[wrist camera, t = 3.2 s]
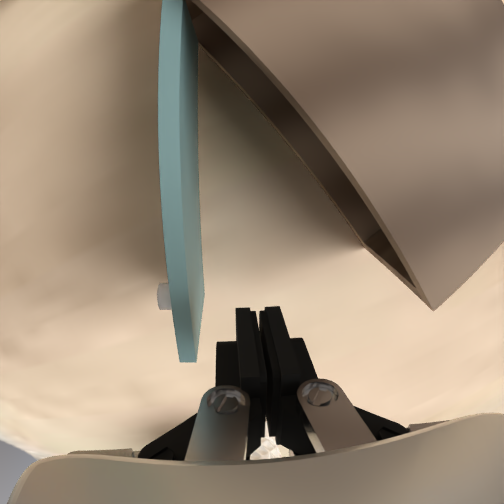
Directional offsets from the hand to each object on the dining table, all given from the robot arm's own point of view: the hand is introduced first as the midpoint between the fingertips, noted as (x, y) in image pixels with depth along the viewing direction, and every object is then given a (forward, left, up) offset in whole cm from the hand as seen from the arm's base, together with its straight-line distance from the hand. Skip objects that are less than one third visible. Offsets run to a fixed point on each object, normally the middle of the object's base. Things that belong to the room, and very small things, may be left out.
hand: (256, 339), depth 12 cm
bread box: (-5, +14, -10) cm, 17 cm away
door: (-7, +1, -9) cm, 11 cm away
